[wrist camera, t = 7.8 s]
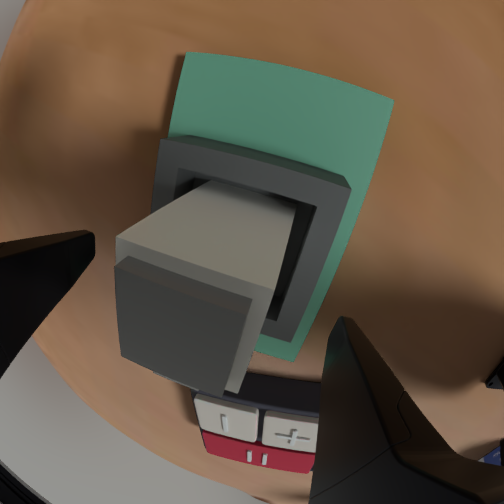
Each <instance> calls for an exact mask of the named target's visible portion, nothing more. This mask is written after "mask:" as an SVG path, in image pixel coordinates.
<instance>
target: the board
mask: <svg viewBox="0 0 504 504" xmlns="http://www.w3.org/2000/svg"><path fill="white" fill-rule="evenodd" d="M393 104H394V100H392V99H390V98H387V97H385V96H382V95H380V94H377V93H375V92H372V91H369V90H367V89H364V88H361V87H358V86H355V85H352V84H349V83H346V82H343V81H340V80H337V79H334V78H330V77H327V76H324V75H320V74H317V73H313V72H309V71H305V70H301V69H297V68H293V67H289V66H284V65H280V64H275V63H270V62H265V61H259V60H253V59H247V58H241V57H234V56H226V55H218V54H208V53H196V52H186V56H185V60H184V63H183V67H182V71H181V76H180V80H179V84H178V88H177V93H176V97H175V102H174V107H173V112H172V117H171V122H170V127H169V133H168V138H162V139H160V144H159V151H158V157H157V164H156V171H155V179H154V187H153V195H152V204H151V214H152V213H154V212H156V211H157V210H159V209H161V208H162V207H164V206H166V205H167V204H169V203H171V202H173V201H174V200H176V199H178V198H180V197H181V196H183V195H185V194H187V193H188V192H190V191H192V190H194V189H196V188H197V187H199V186H201V185H203V184H205V183H206V182H208V181H210V180H213V181H216V182H220V183H224V184H228V185H231V186H235V187H239V188H242V189H246V190H249V191H253V192H256V193H260V194H263V195H267V196H270V197H274V198H277V199H280V200H284V201H287V202H290V203H294V204H297V207H296V211H295V215H294V219H293V223H292V227H291V231H290V235H289V239H288V243H287V246H286V250H285V254H284V258H283V262H282V265H281V269H280V273H279V277H278V280H277V284H276V288H275V291H274V294H273V297H272V300H271V303H270V306H269V309H268V311H267V314H266V317H265V320H264V323H263V326H262V329H261V332H260V334H259V337H258V340H257V343H256V346H255V348H254V351H257V352H260V353H264V354H267V355H270V356H274V357H277V358H280V359H284V360H287V361H291V362H294V360H295V358H296V356H297V354H298V352H299V350H300V348H301V346H302V344H303V342H304V340H305V338H306V336H307V334H308V332H309V330H310V328H311V326H312V324H313V322H314V320H315V317H316V315H317V313H318V311H319V309H320V307H321V304H322V302H323V300H324V298H325V296H326V293H327V291H328V289H329V286H330V284H331V282H332V280H333V277H334V275H335V273H336V270H337V268H338V265H339V263H340V261H341V258H342V256H343V253H344V251H345V248H346V246H347V243H348V241H349V238H350V236H351V233H352V231H353V228H354V225H355V223H356V220H357V217H358V215H359V212H360V209H361V207H362V204H363V201H364V198H365V195H366V192H367V190H368V187H369V184H370V181H371V178H372V175H373V172H374V169H375V166H376V163H377V160H378V156H379V153H380V150H381V147H382V143H383V140H384V137H385V133H386V130H387V126H388V123H389V119H390V116H391V112H392V108H393ZM151 214H150V215H151Z"/></svg>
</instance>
